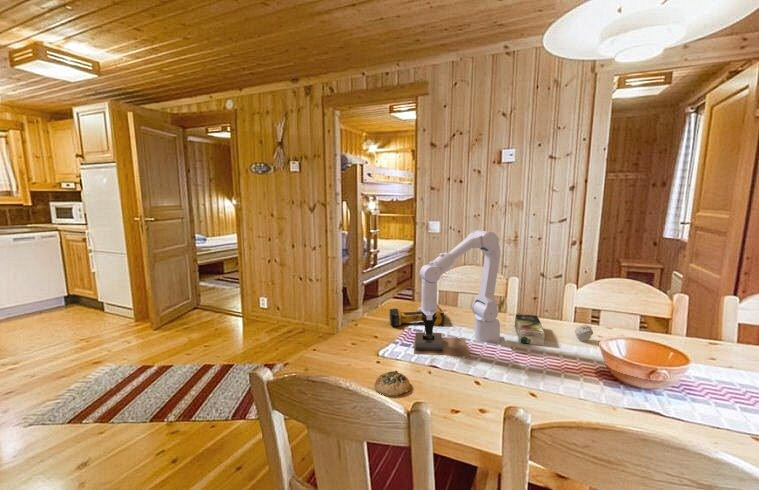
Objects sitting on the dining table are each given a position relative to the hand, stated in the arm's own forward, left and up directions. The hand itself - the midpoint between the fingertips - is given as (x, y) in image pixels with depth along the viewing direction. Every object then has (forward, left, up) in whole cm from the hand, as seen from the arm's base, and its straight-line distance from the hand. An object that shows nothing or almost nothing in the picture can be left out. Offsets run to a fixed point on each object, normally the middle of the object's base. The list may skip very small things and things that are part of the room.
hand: (428, 331), depth 134 cm
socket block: (0, 0, -6) cm, 6 cm away
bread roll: (+12, +29, -7) cm, 32 cm away
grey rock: (-61, -12, -7) cm, 63 cm away
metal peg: (0, 0, -2) cm, 2 cm away
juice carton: (-41, -16, -7) cm, 45 cm away
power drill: (+5, -33, -7) cm, 34 cm away
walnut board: (-5, 0, -6) cm, 8 cm away
